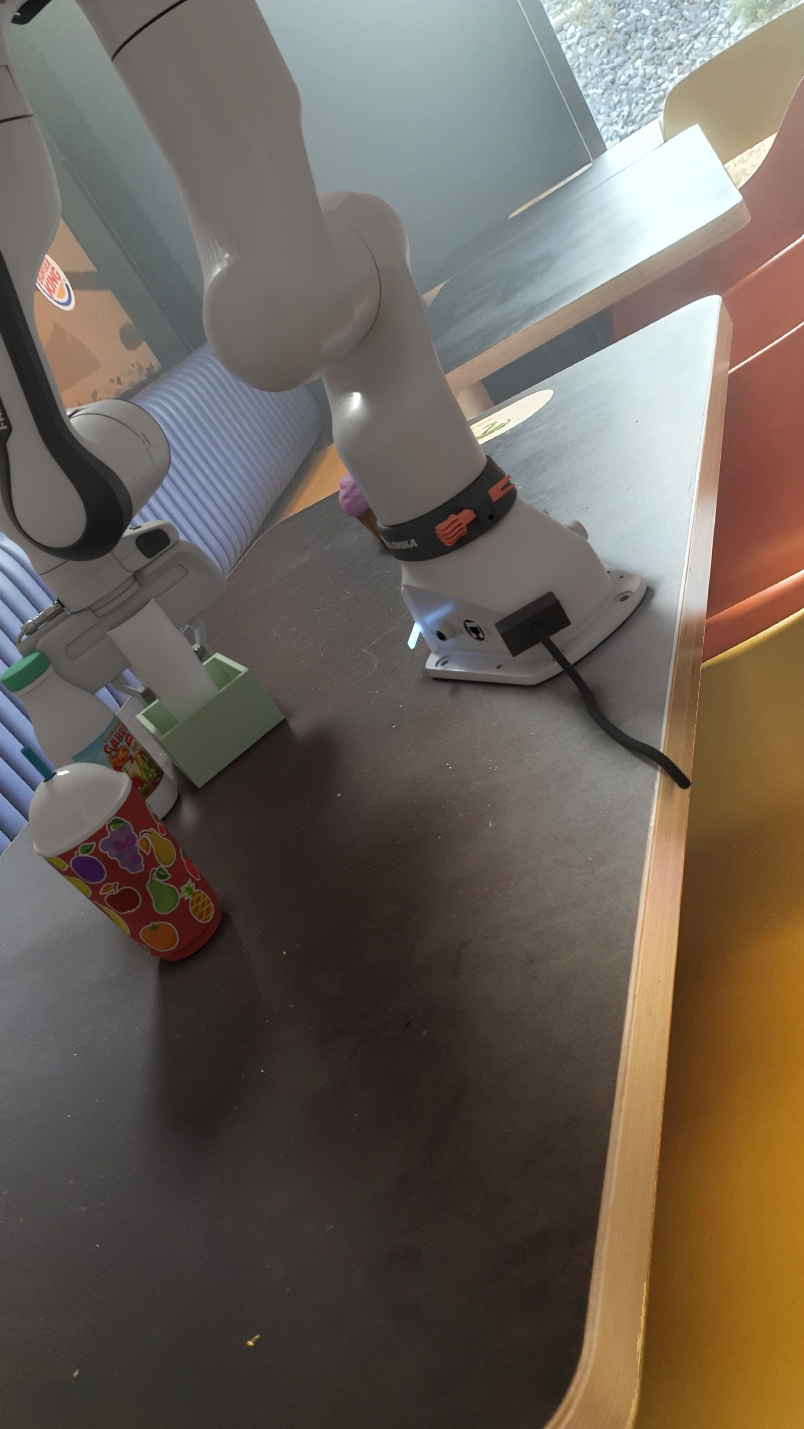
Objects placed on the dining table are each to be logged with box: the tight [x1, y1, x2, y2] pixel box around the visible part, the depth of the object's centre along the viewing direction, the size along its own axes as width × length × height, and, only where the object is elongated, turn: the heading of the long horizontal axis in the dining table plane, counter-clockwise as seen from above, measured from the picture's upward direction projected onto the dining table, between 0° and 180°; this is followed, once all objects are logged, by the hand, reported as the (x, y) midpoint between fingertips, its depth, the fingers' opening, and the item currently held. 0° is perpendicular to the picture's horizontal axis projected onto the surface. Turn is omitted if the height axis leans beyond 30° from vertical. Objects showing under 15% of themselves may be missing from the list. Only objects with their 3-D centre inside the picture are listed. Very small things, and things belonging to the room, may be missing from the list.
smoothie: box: [19, 745, 222, 962], centre depth 72 cm, size 8×8×20 cm
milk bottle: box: [0, 651, 179, 821], centre depth 95 cm, size 8×8×20 cm
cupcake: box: [338, 472, 384, 542], centre depth 129 cm, size 9×9×10 cm
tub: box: [135, 652, 286, 789], centre depth 103 cm, size 11×11×7 cm
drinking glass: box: [106, 598, 219, 722], centre depth 100 cm, size 7×7×15 cm
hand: (179, 680), depth 100 cm, fingers closed on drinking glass, 6 cm apart
